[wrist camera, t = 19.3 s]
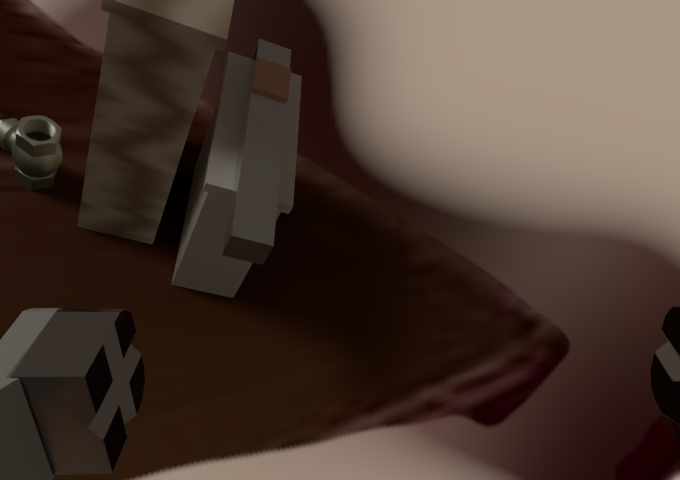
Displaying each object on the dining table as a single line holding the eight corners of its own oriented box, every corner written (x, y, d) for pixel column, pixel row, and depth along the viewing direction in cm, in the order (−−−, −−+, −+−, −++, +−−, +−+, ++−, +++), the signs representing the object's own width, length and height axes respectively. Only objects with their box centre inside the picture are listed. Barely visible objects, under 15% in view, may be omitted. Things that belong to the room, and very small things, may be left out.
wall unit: (70, 229, 59) (102, -4, 39) (108, 113, 68) (150, -120, 49) (156, 249, 61) (226, 39, 42) (182, 135, 71) (248, -79, 52)
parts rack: (165, 288, 59) (205, 182, 47) (190, 164, 69) (229, 51, 57) (237, 303, 61) (293, 206, 50) (252, 181, 71) (301, 76, 59)
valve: (78, 171, 63) (-20, 101, 63) (84, 125, 58) (-22, 49, 58) (27, 208, 58) (-78, 132, 58) (29, 162, 53) (-85, 80, 53)
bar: (263, 265, 45) (275, 243, 43) (221, 255, 44) (231, 232, 42) (282, 70, 59) (292, 47, 56) (250, 59, 58) (259, 35, 56)
